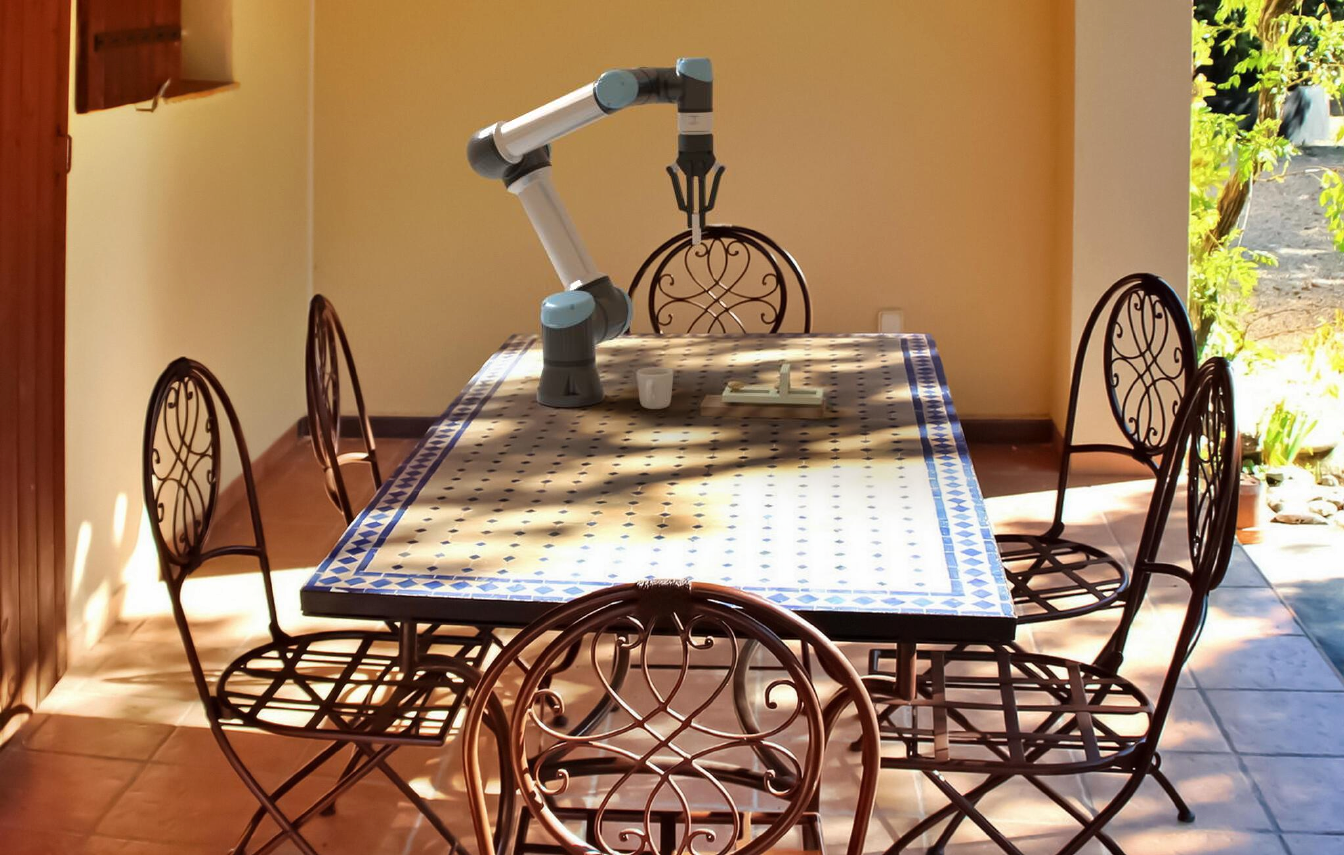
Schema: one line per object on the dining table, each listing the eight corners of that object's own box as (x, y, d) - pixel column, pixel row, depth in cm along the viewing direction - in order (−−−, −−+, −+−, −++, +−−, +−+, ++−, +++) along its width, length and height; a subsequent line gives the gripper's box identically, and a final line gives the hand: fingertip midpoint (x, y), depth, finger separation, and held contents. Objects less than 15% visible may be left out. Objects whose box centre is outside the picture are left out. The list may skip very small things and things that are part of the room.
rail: (700, 415, 306) (700, 388, 304) (706, 403, 315) (706, 376, 314) (823, 418, 302) (823, 391, 300) (825, 406, 311) (826, 379, 309)
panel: (721, 401, 305) (721, 371, 303) (726, 392, 313) (726, 362, 311) (821, 404, 302) (821, 373, 300) (823, 394, 309) (823, 364, 308)
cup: (667, 415, 306) (666, 379, 304) (630, 414, 308) (629, 377, 306) (677, 402, 316) (676, 367, 314) (641, 401, 318) (640, 366, 316)
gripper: (662, 134, 302) (664, 245, 309) (723, 133, 300) (724, 246, 307) (668, 131, 309) (669, 240, 316) (728, 131, 307) (728, 241, 314)
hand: (696, 243), depth 311 cm, fingers closed
